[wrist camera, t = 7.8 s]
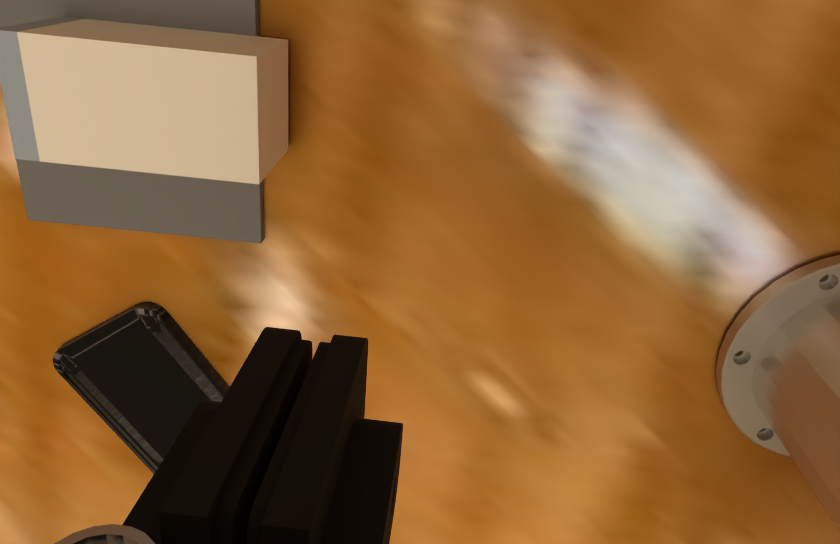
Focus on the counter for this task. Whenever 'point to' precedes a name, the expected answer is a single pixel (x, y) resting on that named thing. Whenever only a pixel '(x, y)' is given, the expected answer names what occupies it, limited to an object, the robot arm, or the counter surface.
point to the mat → (129, 190)
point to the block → (146, 98)
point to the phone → (140, 378)
